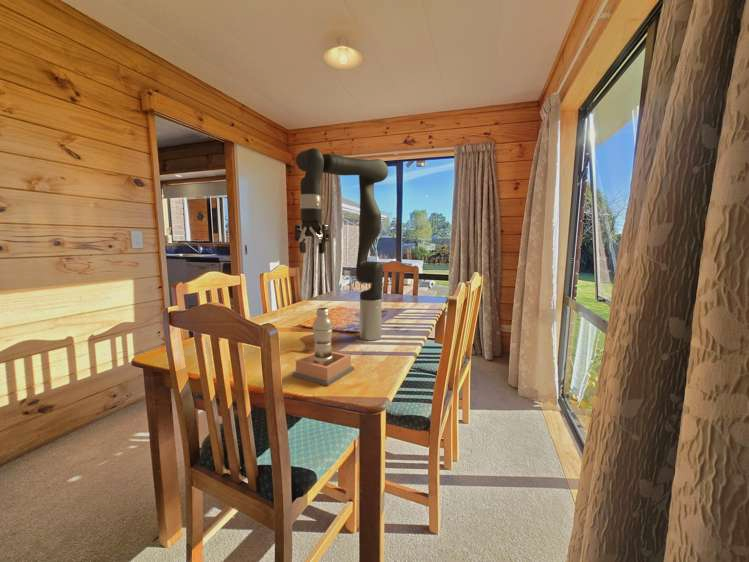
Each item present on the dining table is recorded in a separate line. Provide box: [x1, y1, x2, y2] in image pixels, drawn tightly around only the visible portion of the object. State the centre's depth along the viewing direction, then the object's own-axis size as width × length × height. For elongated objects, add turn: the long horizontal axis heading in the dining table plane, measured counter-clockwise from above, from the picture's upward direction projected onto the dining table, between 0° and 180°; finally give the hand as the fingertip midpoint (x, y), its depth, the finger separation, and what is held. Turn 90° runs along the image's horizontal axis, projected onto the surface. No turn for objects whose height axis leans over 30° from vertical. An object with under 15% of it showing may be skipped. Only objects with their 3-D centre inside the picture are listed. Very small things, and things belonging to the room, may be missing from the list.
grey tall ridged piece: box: [312, 307, 334, 366], centre depth 106 cm, size 6×7×20 cm
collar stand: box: [292, 351, 355, 387], centre depth 107 cm, size 14×14×5 cm
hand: (312, 253), depth 121 cm, fingers open, 8 cm apart
